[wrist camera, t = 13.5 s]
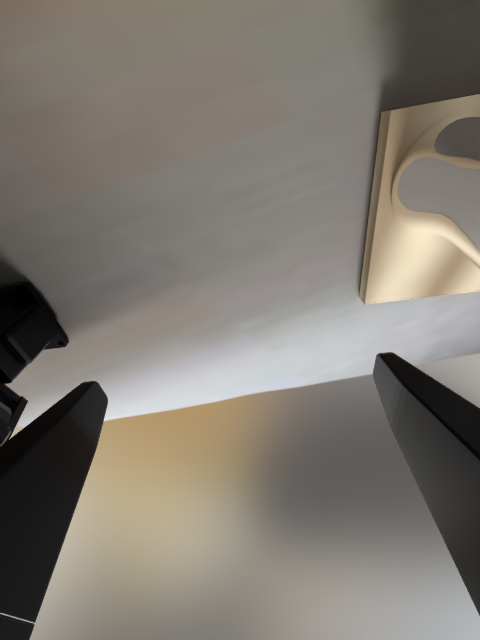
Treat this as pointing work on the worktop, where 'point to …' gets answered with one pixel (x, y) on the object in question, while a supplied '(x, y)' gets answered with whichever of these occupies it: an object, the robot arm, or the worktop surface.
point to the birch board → (400, 240)
